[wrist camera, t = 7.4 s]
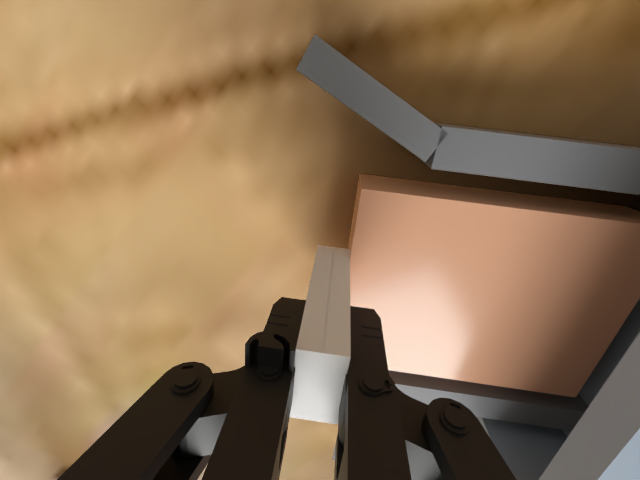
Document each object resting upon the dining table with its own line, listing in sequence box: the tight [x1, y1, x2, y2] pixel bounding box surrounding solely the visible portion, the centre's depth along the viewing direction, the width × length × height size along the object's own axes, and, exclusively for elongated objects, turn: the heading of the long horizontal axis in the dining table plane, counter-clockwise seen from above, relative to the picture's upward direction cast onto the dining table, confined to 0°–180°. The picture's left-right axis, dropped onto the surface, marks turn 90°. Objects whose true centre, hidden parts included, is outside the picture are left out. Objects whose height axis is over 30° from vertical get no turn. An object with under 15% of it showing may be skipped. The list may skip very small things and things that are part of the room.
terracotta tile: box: [348, 174, 640, 397], centre depth 15 cm, size 12×9×3 cm
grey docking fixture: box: [296, 35, 640, 480], centre depth 11 cm, size 18×19×12 cm
